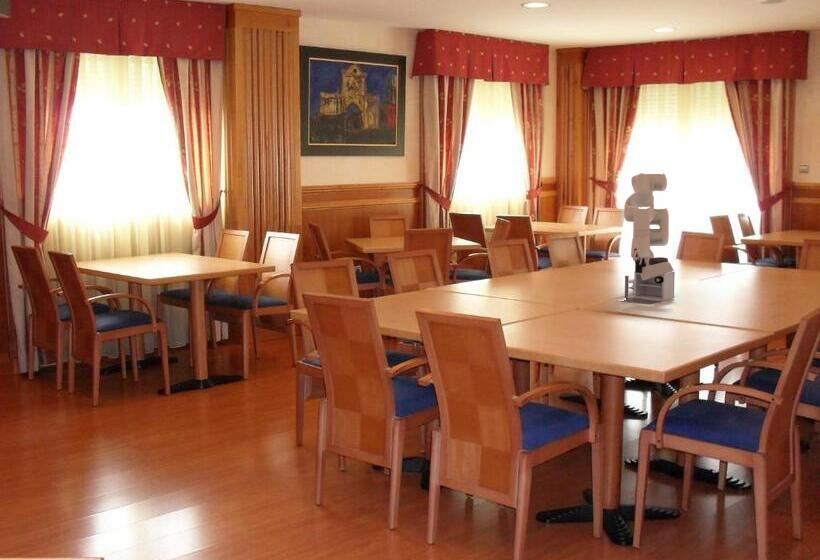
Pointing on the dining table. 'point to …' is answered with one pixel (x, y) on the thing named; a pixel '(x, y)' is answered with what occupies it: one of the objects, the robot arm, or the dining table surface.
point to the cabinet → (654, 287)
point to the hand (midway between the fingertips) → (640, 272)
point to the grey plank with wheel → (656, 271)
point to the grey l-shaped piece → (635, 300)
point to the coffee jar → (657, 260)
